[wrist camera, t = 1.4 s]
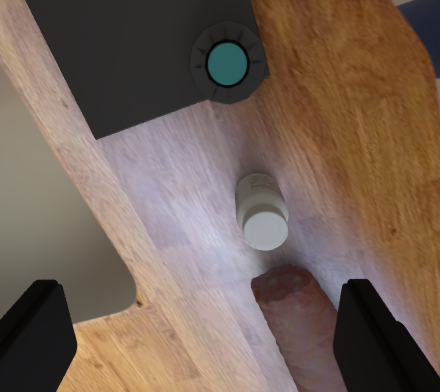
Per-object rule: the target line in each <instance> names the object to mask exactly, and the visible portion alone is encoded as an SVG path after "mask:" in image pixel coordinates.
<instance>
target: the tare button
mask: <svg viewBox="0 0 440 392" xmlns="http://www.w3.org/2000/svg"><path fill="white" fill-rule="evenodd" d="M246 67H247V60H246V56H245V54H244V52H243V50H242V49H241V48H240V47H239V46H237V45H235V44H233V43H222V44H220V45H218V46H216V47H215V48H214V49H213V50H212V52H211V54H210V56H209V59H208V69H209V72H210V74H211V76H212V77H213V79H214V80H215V81H217V82H218V83H220V84H224V85H231V84H234V83H236V82H238V81H239V80H240V79H241V78H242V77H243V75H244V74H245V71H246Z"/></svg>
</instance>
